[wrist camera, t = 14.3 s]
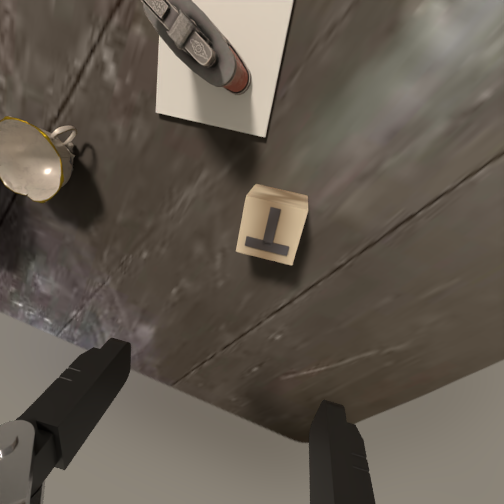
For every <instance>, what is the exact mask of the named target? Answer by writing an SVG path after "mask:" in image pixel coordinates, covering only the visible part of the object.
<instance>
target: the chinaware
mask: <svg viewBox="0 0 504 504" xmlns="http://www.w3.org/2000/svg"><path fill="white" fill-rule="evenodd" d="M69 130H73V132H72V134H71V135H70V137H69V138H68V139H67V140H66V141H65V142H64V143H62V141H60V140H59V139H58V136H57V135H59V134H61V133H63V132H66V131H69ZM76 135H77V130H76V128H75V127H73V126H62V127H59V128H57V129H56V130H55V131H54V132H53V133H52V134H51V133H49V132H48V131H45V130H43V129H40V128H38V127H36V126H34V125H32V124H30V123H28V122H25V121H23V120H20V119H17V118H13V117H10V116H6V117H4V118H3V119H2V120H0V179H1V180H2V182H3V183H4V185H5V187H7V188H8V189H10V190H11V191H13V192H15V193H18V194H22V195H25V196H26V195H28V197H29V198H30V199H31V200H33V201H35V202H39V203H45V202H47V201H48V200H50V199H51V198H52V197H54V196H55V195H56V194H57V192H58V191H59V190H60V189H61V187H63V186H64V185H65V184H66V183H67V182H68V180H69V179H70V177H71V174H72V170H73V158H74V157H75V155H73V154H72V153H71V152H70V151H69V150H68V149H67V148H72V147H73V143H72V142H71V141H72V140H73V139H74V137H75V136H76Z"/></svg>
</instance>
